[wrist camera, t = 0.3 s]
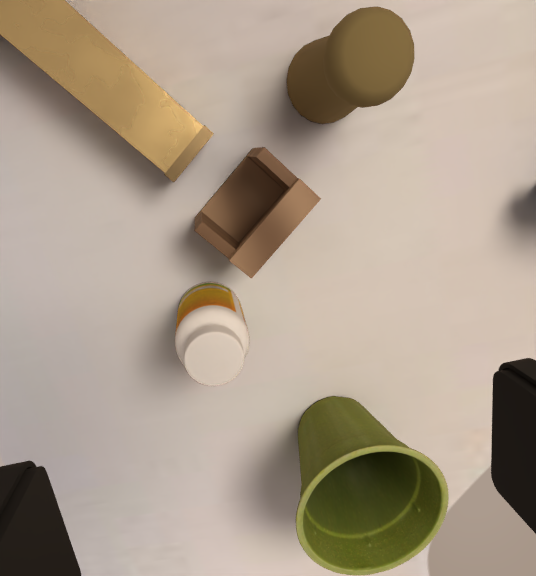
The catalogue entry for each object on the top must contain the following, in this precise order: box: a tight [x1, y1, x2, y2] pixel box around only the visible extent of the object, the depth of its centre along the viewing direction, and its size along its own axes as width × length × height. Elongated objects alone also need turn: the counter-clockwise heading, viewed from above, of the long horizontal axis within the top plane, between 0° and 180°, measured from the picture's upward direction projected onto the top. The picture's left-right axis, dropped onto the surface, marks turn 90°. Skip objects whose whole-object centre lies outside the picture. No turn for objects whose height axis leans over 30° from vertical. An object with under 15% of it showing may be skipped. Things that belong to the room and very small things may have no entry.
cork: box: [287, 7, 414, 124], centre depth 30 cm, size 6×6×11 cm
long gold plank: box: [0, 0, 214, 182], centre depth 28 cm, size 4×24×4 cm, turn 48°
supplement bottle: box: [175, 282, 249, 386], centre depth 34 cm, size 5×5×10 cm
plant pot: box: [296, 396, 448, 575], centre depth 39 cm, size 12×12×11 cm
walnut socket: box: [195, 147, 321, 278], centre depth 33 cm, size 7×5×7 cm
